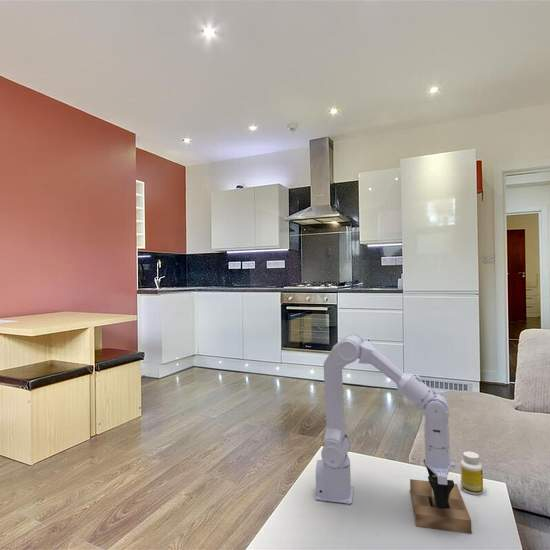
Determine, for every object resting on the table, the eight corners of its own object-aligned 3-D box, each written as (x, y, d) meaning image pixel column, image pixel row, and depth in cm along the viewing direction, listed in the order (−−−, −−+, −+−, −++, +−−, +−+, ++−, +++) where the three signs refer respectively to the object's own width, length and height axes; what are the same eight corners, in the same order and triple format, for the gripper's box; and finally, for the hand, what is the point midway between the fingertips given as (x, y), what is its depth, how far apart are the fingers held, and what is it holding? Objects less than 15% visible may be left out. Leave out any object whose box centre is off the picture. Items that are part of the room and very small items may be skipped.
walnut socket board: (416, 526, 91) (415, 513, 91) (410, 490, 106) (410, 479, 106) (471, 533, 88) (471, 520, 88) (457, 495, 103) (456, 483, 103)
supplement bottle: (486, 496, 102) (484, 459, 102) (464, 494, 103) (463, 458, 103) (479, 485, 107) (478, 450, 107) (458, 484, 108) (457, 449, 109)
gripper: (460, 458, 87) (462, 518, 87) (448, 433, 101) (450, 485, 101) (427, 456, 89) (429, 514, 89) (420, 431, 103) (422, 482, 103)
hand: (438, 498), depth 95 cm, fingers open, 7 cm apart
